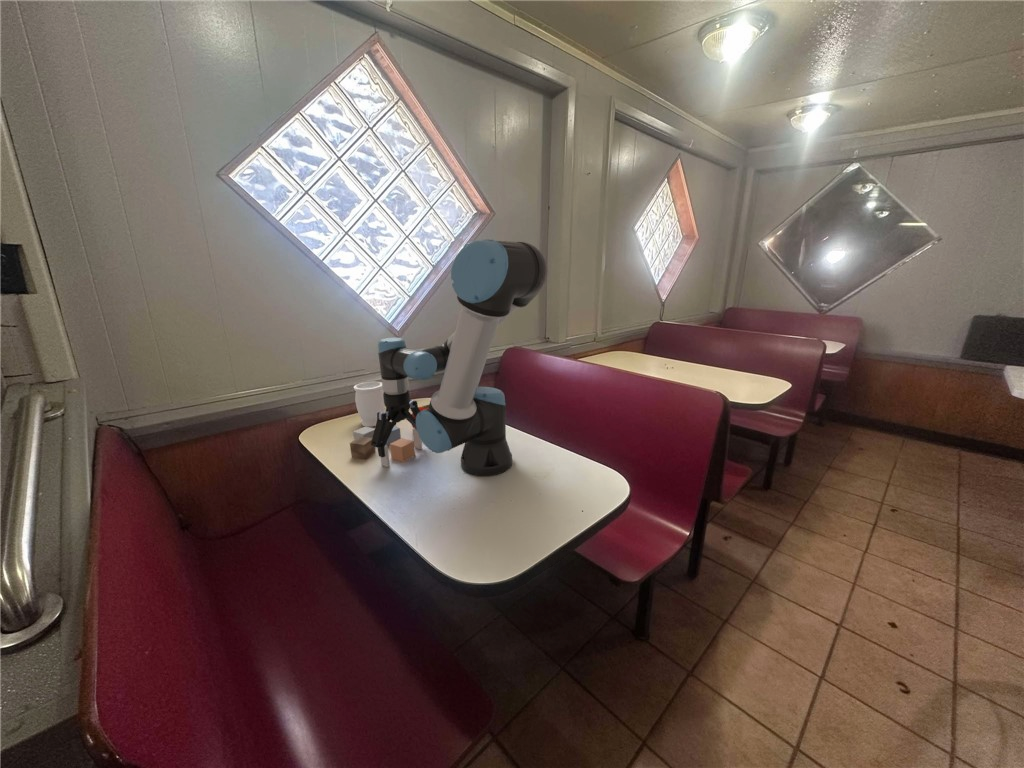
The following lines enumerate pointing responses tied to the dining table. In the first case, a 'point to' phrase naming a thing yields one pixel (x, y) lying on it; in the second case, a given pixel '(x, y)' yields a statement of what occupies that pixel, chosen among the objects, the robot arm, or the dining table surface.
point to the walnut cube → (362, 448)
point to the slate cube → (394, 436)
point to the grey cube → (364, 432)
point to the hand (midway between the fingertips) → (402, 456)
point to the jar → (369, 402)
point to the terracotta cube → (402, 450)
